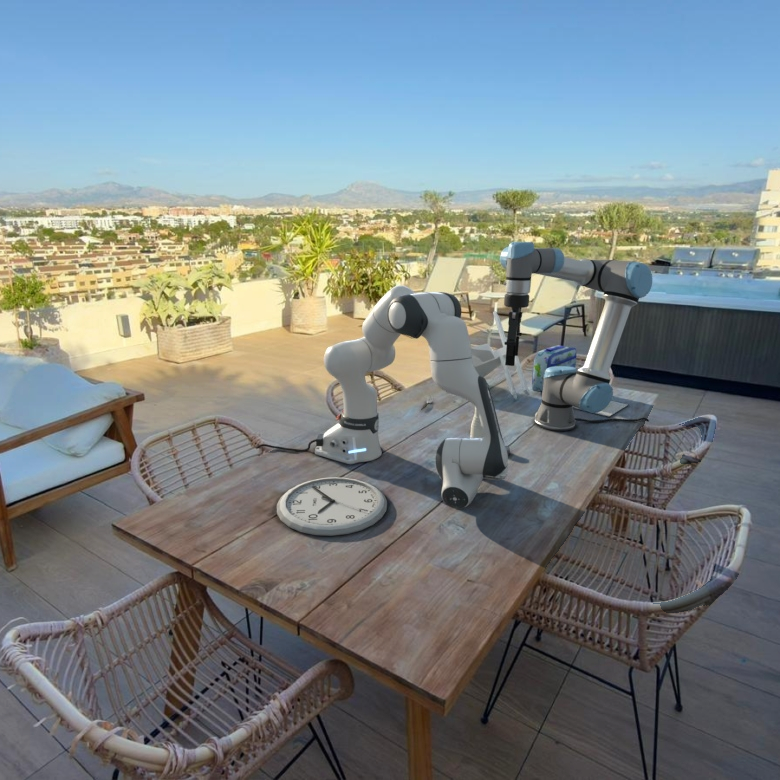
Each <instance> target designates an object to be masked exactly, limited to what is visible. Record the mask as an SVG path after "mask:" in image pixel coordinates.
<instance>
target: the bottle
mask: <svg viewBox="0 0 780 780" xmlns="http://www.w3.org/2000/svg"><path fill="white" fill-rule="evenodd" d="M471 421H472V422H471V424H470V435H469V438H483V437H484V434H483V430H482V426H481V422H480V418H479V414H478V410H477V408H476V407H475V406H474V414H473V417H472V420H471Z"/></svg>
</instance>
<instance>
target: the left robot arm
mask: <svg viewBox="0 0 780 780" xmlns="http://www.w3.org/2000/svg"><path fill="white" fill-rule="evenodd" d="M361 326H362V327H361V329H362V330H361V331H362V335H363V336H362V337H360V338H358V339H352V340H346V341H341V342H338V343H335V344H333V345H331V346H328V347H327V349H326V350H325V351H324V355H323V365H324V368H325V370H326V371H327V373H328V374H329V375H330V376H332V377H333V378H334V379H335V380H337V382H338V383H339V385H340V388H341V391H342V392H341V393H342V402H343V404H342V405H343V410H342V411H341V412H340V413H339V414H338V415H337V416H336V421H338V422H337V423H336V424H334V425H333V426H331V427H330V428H329V429H327V430H326V431H325V432H324V433H318V435H317V436H316V438H315V439H313V440H310V442H309V443H308V445H307V448H303V449H298V448H291V447H290V448H289V447H283V446H278V445H271V444H266V443H261V444H259V445H257V446H256V447H255V449H260V448H262V447H267V448H271V449H278V450H283V451H290V452H307V451H309V450H310V449H311V445H312V444H313V443H315V444H316V447H315V448H314V454H315V455H317V456H320V457H324V458H326V459H329V460H334V461H337V462H340V463H343V464H347V465H354V464H357V463H363V462H364V463H365V462H371V461H374V460H376V459H378V458H380V457H381V456H382V454H383V453H382V452H383V451H382V448H381V445H380V438H379V427H380V419H379V417H380V416H379V412H378V391H377V389H376V388H375V387H374V386H373V385H371V384H370V383H368V382H367V380H366V374H368V373H373V372H376V371H381V370H383V369H385V368H387V367H389V366H390V365H392V364H393V363H394V361H395V358H396V348H395V345H394V344H395V342H396V341H397V340H398V339H399V338H400V336H401V335H403V336H408V337H410V338H412V339H417V340H418V339H420V337H423V338H424V339H425V340H426V342H427V344H428V350H429V351H428V352H429V355H428V356H429V367H430V374H431V378H432V381H433V382H434V384H435V385H436V386H437V387H438V388H439V389H441V390H442V391H444V392H446V393H448V394H451V395H454V396H457V397H460V398H462V399H465V400H467V401H468V402H470V403H471V404H472V405H474V408H475V407H476V408H477V410H478V414H479V418H480V422H481V426H482V430H483V434H484V437H483V438H470V437H446V438H444V439H443V440H442V441H441V442H440V444H439V446H438V447H437V449H436V452H435V467H436V472H437V474H438V479H440V480H442V487H441V495H440V496H441V500H442V501H443V503H444V504H445V505H446V506H448V507H450V508H452V509H456V510H460V509H465V508H466V507H468V506H469V505H471V503H472V502H473V500H474V499H475V497H476V496H477V492H478V491H479V488H480V486H481V484H482V482H483V479H485V480H491V481H501V480H505V479H506V477H507V475H508V470H509V462H508V461H509V455H508V454H507V450H506V447H505V446H506V444H505V442H504V438H503V434H502V432H501V427H500V424H499V423H500V422H499V420H498V416H497V412H496V407H495V403H494V400H493V395H492V392H491V388H490V386H489V383H488V382H487V380H486V378H485V377H481V376H479V374H478V373H477V371H476V370H475V368H474V365H473V361H472V351H471V347H472V344H471V339H470V334H469V330H468V326H467V324H466V322H465V320H463V319H462V306H461V302H460V300H459V299H458V298H457V297H456V296H455V295H453V294H451V293H449V292H445V291H444V292H443V291H440V292H434V291H423V292H415V291H414V290H413V289H412V288H410V287H408V286H406V285H396V286H393V287H392V288H391V289H389V290H388V291H387V292H386V293H384V295H383V296H382V297H381V298H380V299H379V300H378V302H377V303H376V304H374V307H373V308H372V310H370V312H369V314H368V315H367V316H366V317H365V319H364V321H363V323H362V325H361Z"/></svg>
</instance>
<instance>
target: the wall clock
mask: <svg viewBox="0 0 780 780" xmlns="http://www.w3.org/2000/svg"><path fill="white" fill-rule="evenodd" d="M387 509H388V500H387V498H386V496H385V494H384V493H383V492H382V491H381V490H380V489H379V488H377V487H376V486H374V485H372V484H371V483H369V482H365V481H362V480H359V479H355V478H349V477H338V476H337V477H335V476H333V477H332V476H331V477H322V478H317V479H312V480H307V481H305V482H302V483H299V484H297V485H295V486H293V487H292V488H290V489H288V490H287V491H286V492H285V493H284V494H283V495H281V496H280V498H279V499H278V502H277V503H276V515H277V517H278V518H279V520H280V521H281V522H282V523H283V524H285V525H286V526H287V527H288V528H290V529H293V530H295V531H297V532H299V533H303V534H308V535H312V536H327V537H328V536H329V537H331V536H332V537H333V536H342V535H350V534H352V533H356V532H361V531H363V530H366V529H368V528H369V527H372V526H373V525H375V524H376V523H378V522H379V521H380V520H381V519H382V518H383V517H384V516H385V514H386V512H387Z"/></svg>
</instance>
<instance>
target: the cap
mask: <svg viewBox="0 0 780 780" xmlns="http://www.w3.org/2000/svg"><path fill="white" fill-rule="evenodd" d="M505 447H506V450H507V454H508V456H510V453H511V452H510V451H511V449H510V447H509V446H508V445H505Z"/></svg>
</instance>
